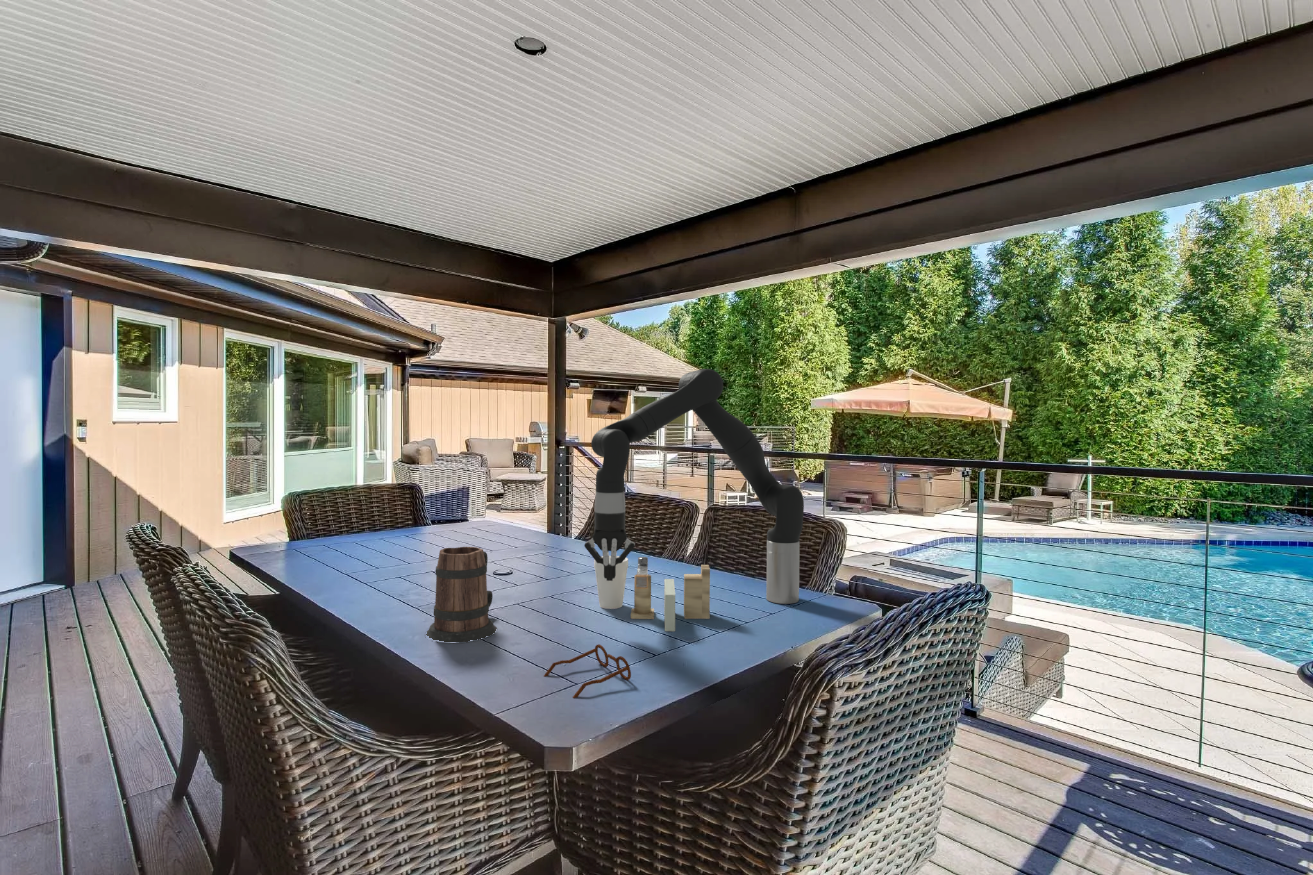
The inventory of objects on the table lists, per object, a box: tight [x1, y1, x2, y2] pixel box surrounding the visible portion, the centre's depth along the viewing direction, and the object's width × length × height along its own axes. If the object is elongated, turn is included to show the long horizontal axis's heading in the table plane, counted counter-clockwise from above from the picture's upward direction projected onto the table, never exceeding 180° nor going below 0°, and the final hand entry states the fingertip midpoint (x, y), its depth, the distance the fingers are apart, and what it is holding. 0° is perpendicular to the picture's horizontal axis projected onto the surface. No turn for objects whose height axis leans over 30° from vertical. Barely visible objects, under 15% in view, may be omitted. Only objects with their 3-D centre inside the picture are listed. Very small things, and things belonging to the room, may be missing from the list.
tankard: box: [426, 546, 498, 643], centre depth 161 cm, size 24×17×20 cm
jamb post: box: [630, 574, 655, 620], centre depth 172 cm, size 6×6×10 cm
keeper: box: [683, 564, 711, 620], centre depth 172 cm, size 5×6×13 cm
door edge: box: [663, 578, 676, 632], centre depth 167 cm, size 16×2×9 cm, turn 0°
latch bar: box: [634, 556, 649, 589], centre depth 166 cm, size 16×3×5 cm, turn 0°
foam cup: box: [593, 555, 629, 610], centre depth 181 cm, size 10×9×13 cm
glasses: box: [543, 644, 632, 699], centre depth 130 cm, size 13×13×5 cm
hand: (609, 579), depth 161 cm, fingers closed
